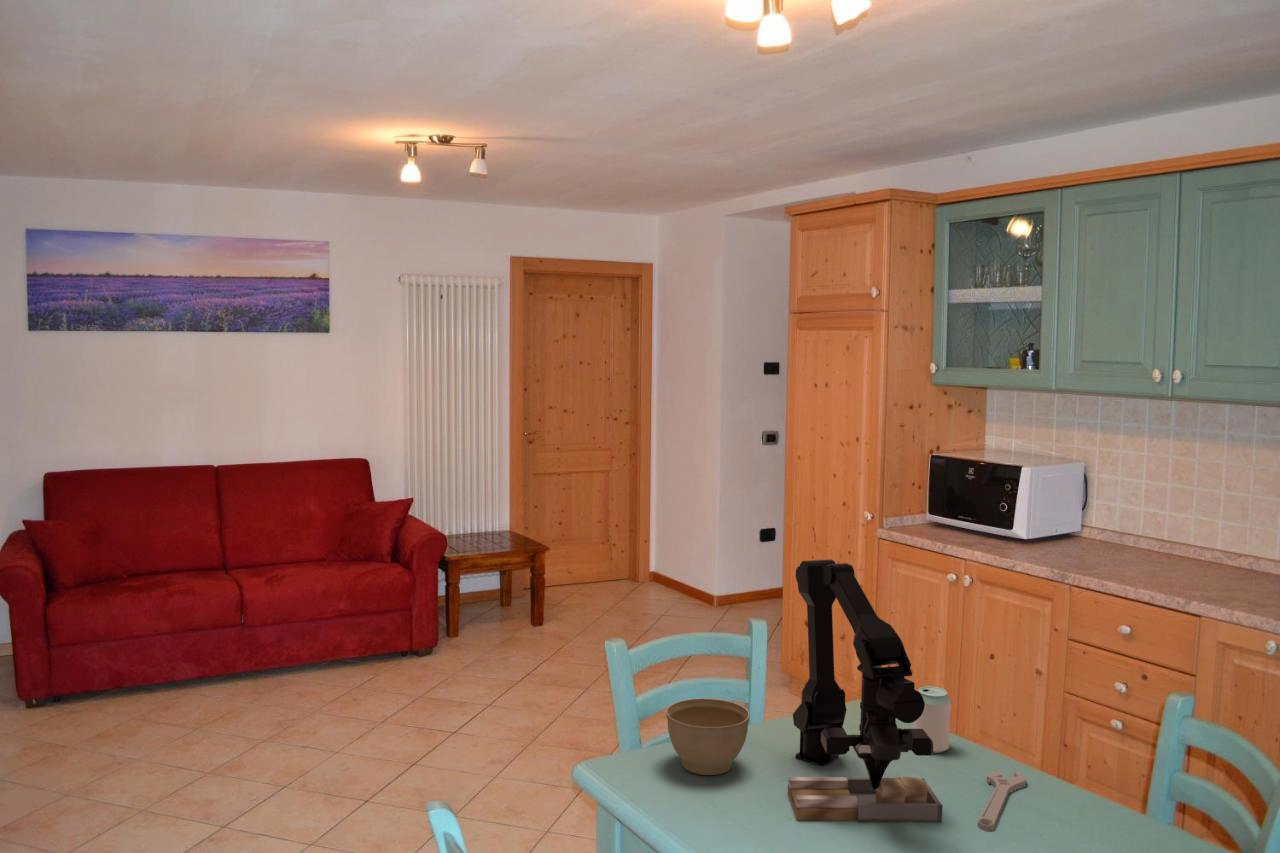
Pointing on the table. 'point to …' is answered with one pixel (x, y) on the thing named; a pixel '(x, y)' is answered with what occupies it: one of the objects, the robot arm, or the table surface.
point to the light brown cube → (914, 790)
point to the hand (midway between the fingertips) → (874, 788)
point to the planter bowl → (707, 733)
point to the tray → (892, 805)
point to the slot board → (822, 798)
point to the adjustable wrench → (998, 797)
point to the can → (935, 717)
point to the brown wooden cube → (890, 791)
